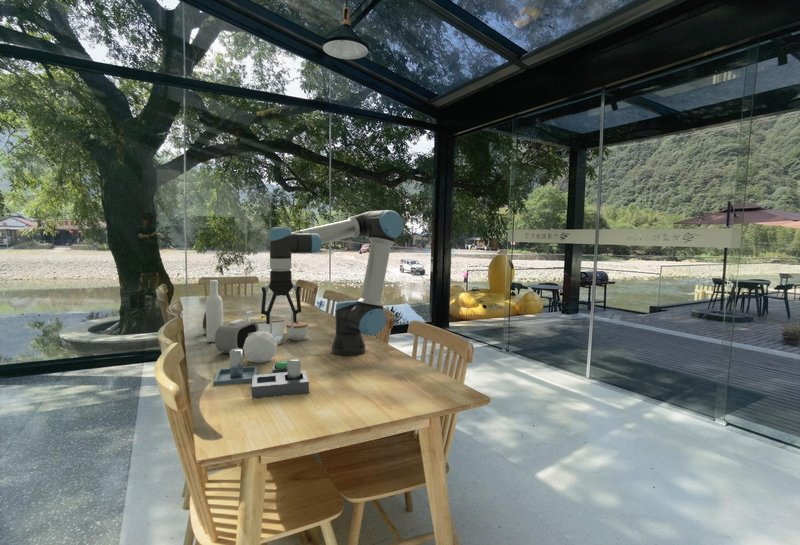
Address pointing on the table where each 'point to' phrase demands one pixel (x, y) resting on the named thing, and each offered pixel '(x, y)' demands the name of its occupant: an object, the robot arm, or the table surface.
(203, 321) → the pump dispenser
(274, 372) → the button housing
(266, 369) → the table surface
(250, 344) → the geodesic sphere
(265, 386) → the block
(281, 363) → the button
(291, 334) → the lidded jar
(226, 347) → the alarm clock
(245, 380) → the tray
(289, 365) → the cylinder
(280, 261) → the robot arm
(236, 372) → the loose billet
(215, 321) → the bottle
